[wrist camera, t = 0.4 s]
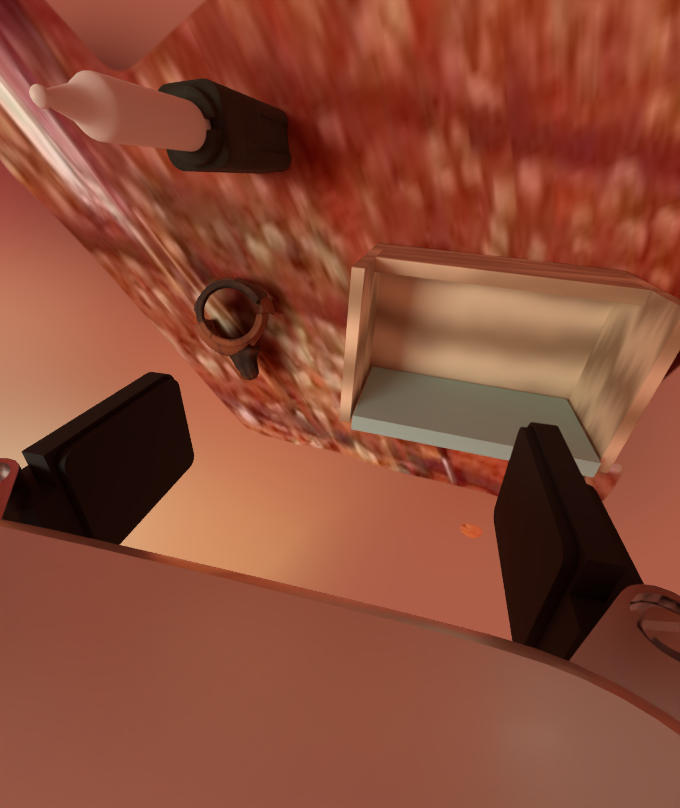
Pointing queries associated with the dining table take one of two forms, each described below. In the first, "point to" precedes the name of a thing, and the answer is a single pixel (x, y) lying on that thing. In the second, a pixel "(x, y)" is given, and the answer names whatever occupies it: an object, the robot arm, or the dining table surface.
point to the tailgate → (463, 415)
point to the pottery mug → (236, 347)
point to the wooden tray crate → (514, 332)
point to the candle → (176, 121)
